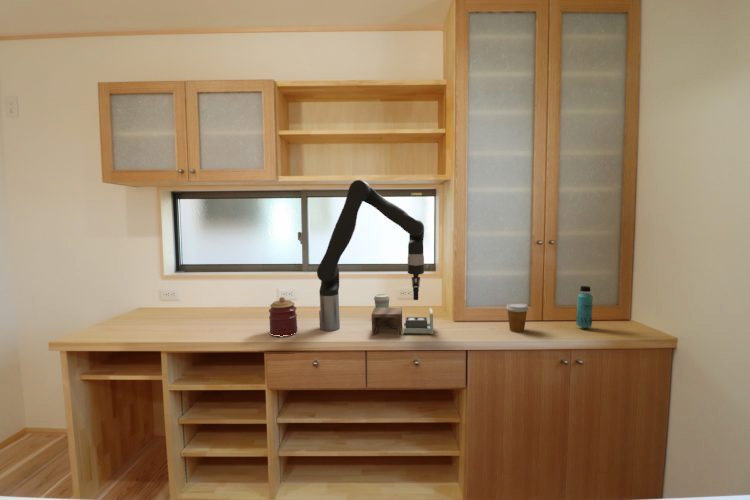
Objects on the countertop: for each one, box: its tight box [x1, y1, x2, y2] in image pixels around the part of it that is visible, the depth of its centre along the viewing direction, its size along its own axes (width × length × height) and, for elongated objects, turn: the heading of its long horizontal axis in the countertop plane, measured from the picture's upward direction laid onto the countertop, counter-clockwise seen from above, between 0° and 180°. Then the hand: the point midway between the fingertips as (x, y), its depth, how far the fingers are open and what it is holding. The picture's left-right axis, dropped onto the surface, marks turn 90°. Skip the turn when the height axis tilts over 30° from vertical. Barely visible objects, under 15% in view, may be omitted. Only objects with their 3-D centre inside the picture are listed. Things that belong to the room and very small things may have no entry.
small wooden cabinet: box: [371, 307, 403, 337], centre depth 179 cm, size 14×12×10 cm
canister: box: [268, 296, 298, 336], centre depth 180 cm, size 13×13×18 cm
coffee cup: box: [373, 293, 391, 308], centre depth 203 cm, size 8×8×12 cm
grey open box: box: [405, 316, 428, 328], centre depth 177 cm, size 10×6×4 cm, turn 84°
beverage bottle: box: [575, 285, 594, 328], centre depth 174 cm, size 6×7×20 cm
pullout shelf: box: [403, 307, 434, 335], centre depth 177 cm, size 14×10×9 cm
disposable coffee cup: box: [506, 302, 529, 333], centre depth 175 cm, size 10×10×12 cm
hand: (415, 297), depth 176 cm, fingers open, 8 cm apart
